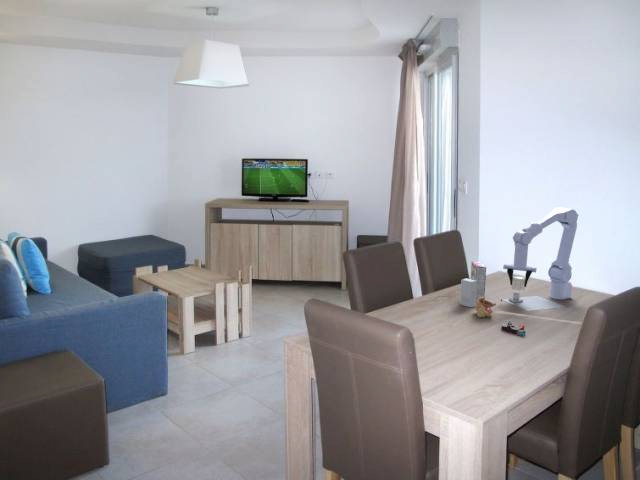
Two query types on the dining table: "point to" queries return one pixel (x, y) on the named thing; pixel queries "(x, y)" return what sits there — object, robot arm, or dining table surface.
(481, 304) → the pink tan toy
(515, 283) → the knob
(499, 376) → the dining table surface
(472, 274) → the candy bar box
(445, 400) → the dining table surface
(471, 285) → the skincare box
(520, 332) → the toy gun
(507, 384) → the dining table surface
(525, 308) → the board
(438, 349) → the dining table surface
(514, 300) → the grey disc
